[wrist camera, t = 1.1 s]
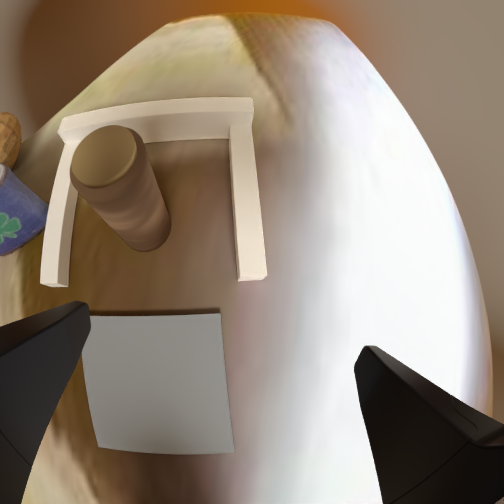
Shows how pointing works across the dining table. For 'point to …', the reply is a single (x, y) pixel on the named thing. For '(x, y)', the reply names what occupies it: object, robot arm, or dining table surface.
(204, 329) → the mat
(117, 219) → the brown wooden cylinder
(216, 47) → the dining table surface
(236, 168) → the white frame
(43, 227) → the flask
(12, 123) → the potato
